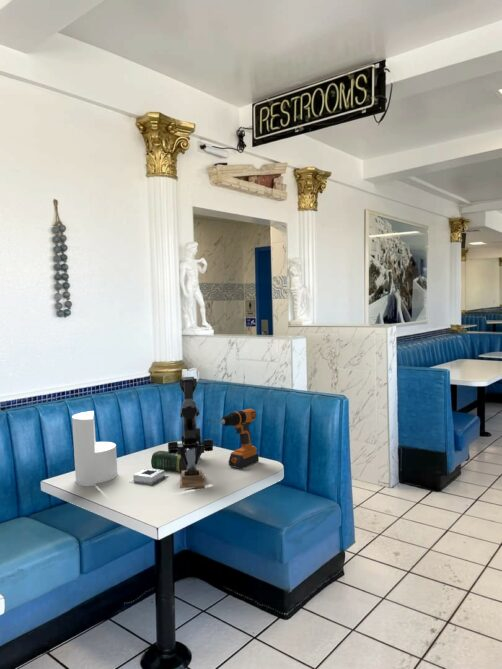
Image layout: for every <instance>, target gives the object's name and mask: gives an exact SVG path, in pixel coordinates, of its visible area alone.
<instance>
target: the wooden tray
mask: <svg viewBox="0 0 502 669" xmlns="http://www.w3.org/2000/svg"><path fill="white" fill-rule="evenodd" d="M196 469H197V468H196ZM179 489H185V491H192V490H194V491H195V490H204V489H206V485H205V475H204V472H203V470H202V468H198V469H197V475H193V476H187V470H184V471H182V472H181V474H180V475H179Z"/></svg>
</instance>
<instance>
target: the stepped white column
mask: <svg viewBox="0 0 502 669" xmlns="http://www.w3.org/2000/svg"><path fill="white" fill-rule="evenodd" d="M71 421H72V422H71V423H72V437H73V438H72V439H73V440H72V441H73V454H74V456H73V457H74V469H75V470H74V471H75V472H74V473H75V474H74V475H75V484H77V485H79V486H83V487H85V486H86V487H93V486H94V487H95V486H97V484H99V483H105V482H109V481H111V480H113V479H115V478H116V477H117V476H118V460H117V459H118V458H117V456H118V455H117V444H116V443H115V442H111V441H96V439H97V438H96V427H95V423H96V422H95V411H94V410H89V411H84V412H83V411H82V412H79V413H75V414H73V415H72V416H71Z"/></svg>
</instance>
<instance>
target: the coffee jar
mask: <svg viewBox="0 0 502 669" xmlns="http://www.w3.org/2000/svg"><path fill="white" fill-rule="evenodd" d="M185 456H186V453H185ZM150 465H151V469H159V470H165V471H171V472H178V473H182V471H184V470H187V466H186V465H185V463H184V461H183V459H182V457H181V456H180V455H178V453H174V454H169V452H168V450H158V451H155V452H154V453H153V454H152V455H151V460H150Z"/></svg>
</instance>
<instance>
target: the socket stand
mask: <svg viewBox="0 0 502 669" xmlns="http://www.w3.org/2000/svg"><path fill="white" fill-rule="evenodd" d="M165 471H166V470H160V469H153V468H152V467H146V468H143V469H142V470H140V471H138V472H136V473H134V474H133V480H132V481H129V482H128V483H129V484H134V485H142V486H150V487H154V486H156V485H157V484H160V483H161V482H162V481H164V480H167V479H168V478H169V477H170V475H169V476H168V475H166V473H165Z"/></svg>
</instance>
